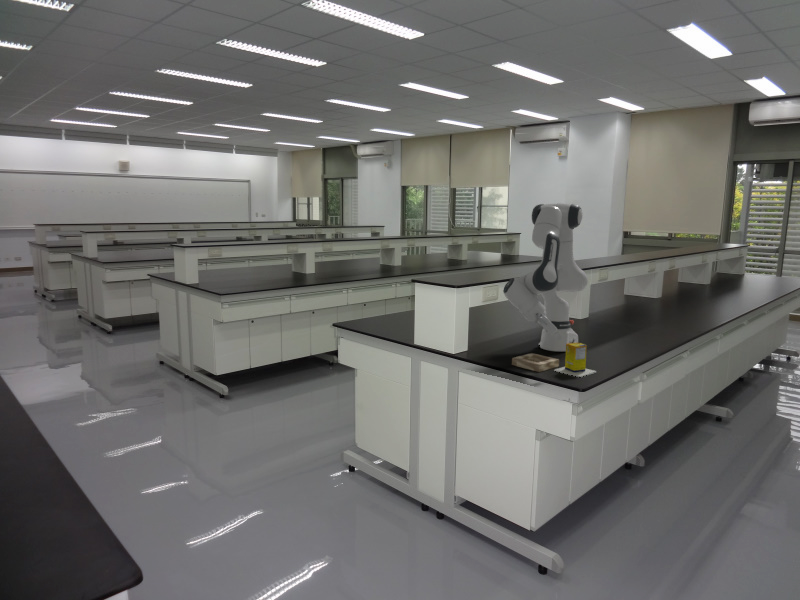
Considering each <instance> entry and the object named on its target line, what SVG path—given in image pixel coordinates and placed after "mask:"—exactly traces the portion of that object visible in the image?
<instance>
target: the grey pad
mask: <svg viewBox="0 0 800 600" xmlns="http://www.w3.org/2000/svg"><path fill="white" fill-rule="evenodd" d="M553 371H554V372H555V371H556V372H557V373H559V372H560V374H563V373H564V374H563V375H567V374H568V375H567V376H571V375H573V376H572V377H575V376H576V378H579V377H581V378H584V377H587V376H590V375H592V374H593V375H594V374H595V373H597V370H594V369H588V368H585V371H580V372H572V371H569V370H566V369H565V366H562V367H559V368H558V367H557V368H554V370H553ZM586 375H587V376H586ZM583 376H584V377H583Z"/></svg>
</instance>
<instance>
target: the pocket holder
mask: <svg viewBox="0 0 800 600" xmlns="http://www.w3.org/2000/svg"><path fill="white" fill-rule="evenodd" d="M511 365H512V366H515V367H518V368H523V369H526V370H530V371H534V372H537V373H541V372H544V371H548V370H551V369H556V368H558V367H559V368H560V359H559V358H554V357H550V356H546V355H542V354H537V353H533V352H531V353H527V354H523V355H519V356H516V357H515V356H514V357H512V358H511Z"/></svg>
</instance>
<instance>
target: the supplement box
mask: <svg viewBox="0 0 800 600" xmlns="http://www.w3.org/2000/svg"><path fill="white" fill-rule="evenodd" d="M587 346H588V345H587V344H585V343H581V342H579V341H578V342H576V343H566V351H565V358H564V360H565V362H564V367H565V369H566V370H569V371H572V372H580V371H585V369H587V367H586V364H587V363H586V362H587V350H588V349H587Z"/></svg>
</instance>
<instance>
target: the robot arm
mask: <svg viewBox="0 0 800 600" xmlns="http://www.w3.org/2000/svg"><path fill="white" fill-rule="evenodd" d="M582 220H583V210H582V208H581V206H580V205H578V204H575V203H572V204H570V203H561V202H560V203H559V202H558V203H546V204H544V203H540V204H536V205H535V206H534V207H533V208H532V211H531V222H532V224H533V225H534V226H533V229H532V236H531V240H532V242H533V244H534V245H535V246H536V247H537V248H539V249H540V250H542V255H541V256H542V258H541V262H540V264H539V266H537V268H535V269H534V270H531V272H528V273H526V274H524V275H521V276H520V277H512V278H510V279H509V280H508V281H507V282H506V283H505V285H504V287H503V290H502V291H503V294H504V296H505V298H506V299H507V300H508V301H509V302H510V304H512V306H513V307H514V308H516V309H518V311H519V313H520V314H521V315H522V316H523V318H525V319H526V320H527V321H528V323H534V324H539V325H540V326H541V327H542V329H541V330H542V331H541V337H540V342H538V346H539V345H540V346H539V347H540V349H543V350H546V351H549V352H566V343H576V342H578V343H579V335H578V334H577V333H576V331H574V330H573V328H572V326H571V325H574V323H575V321H574V319H572V320H571V319H570V309H571V308H570V303H569V302H568V301H567V300H565V299H564V298H562V297H560V296H559V295H558V292H566V293H576V292H583V291H584V290H585V289H586V287H587V285H588V281H589V279H588V275H587V274H586V272H585V271H584V270H583V269H582V268H580V266H578V264H577V263H576V260H575V258H574V252H573V251H574V248H573V247H574V245H573V244H574V243H573V242H574V229H575V228H577V227H579V226H580V224H581V222H582ZM558 264H559V266H560V268H559V267H558ZM538 295H541V296H542V298H543V301H544V304H543V303H542V302H541V301H540V300H539V299H538V298H537V296H538Z"/></svg>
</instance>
